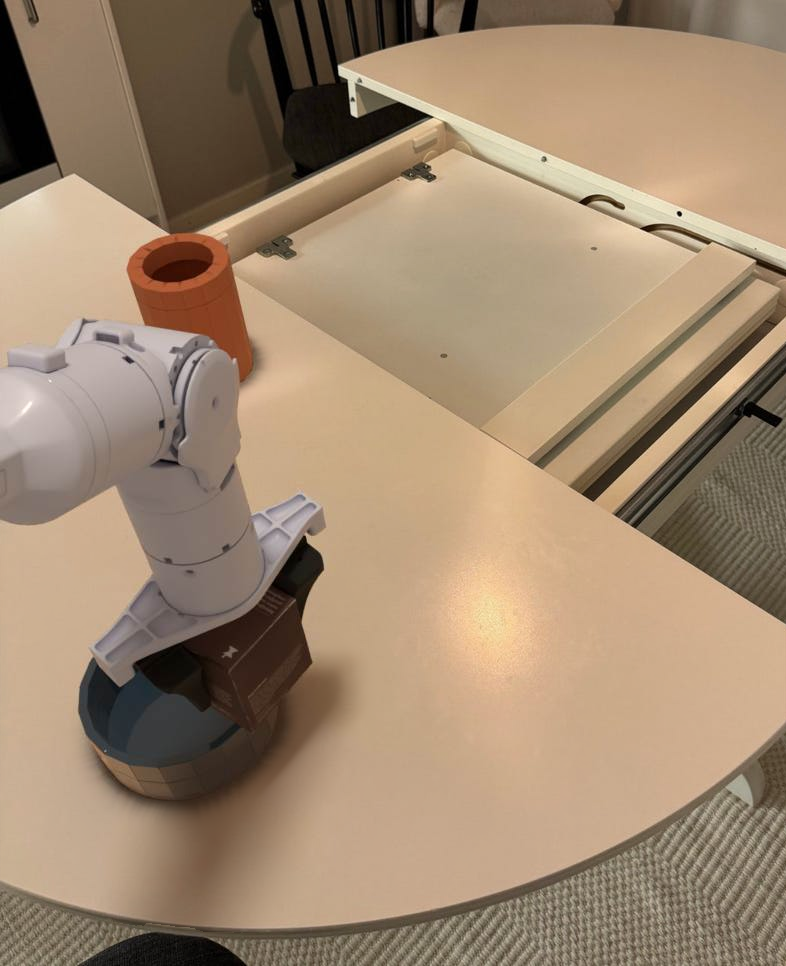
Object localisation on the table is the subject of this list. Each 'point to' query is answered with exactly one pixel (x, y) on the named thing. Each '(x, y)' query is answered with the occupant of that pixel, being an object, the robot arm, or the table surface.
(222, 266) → the jar
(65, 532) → the table surface
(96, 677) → the bowl
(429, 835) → the table surface
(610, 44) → the table surface
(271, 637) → the box
